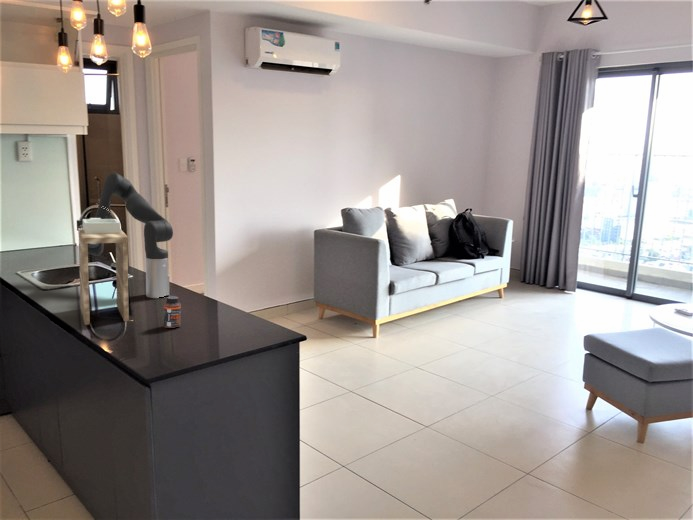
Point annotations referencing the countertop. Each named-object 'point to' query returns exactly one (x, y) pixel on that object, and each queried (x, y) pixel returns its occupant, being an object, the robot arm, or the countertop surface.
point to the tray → (101, 226)
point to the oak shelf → (121, 270)
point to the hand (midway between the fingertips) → (96, 218)
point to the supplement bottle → (172, 312)
